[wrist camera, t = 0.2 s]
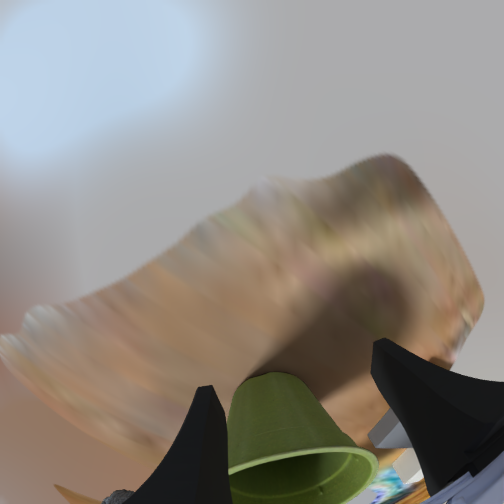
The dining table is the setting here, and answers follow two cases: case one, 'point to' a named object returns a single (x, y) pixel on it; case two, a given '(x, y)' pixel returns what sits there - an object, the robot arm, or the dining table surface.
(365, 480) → the plant pot
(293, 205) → the dining table surface
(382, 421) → the slate slab
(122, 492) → the koala plush
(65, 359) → the dining table surface
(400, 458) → the cream block
